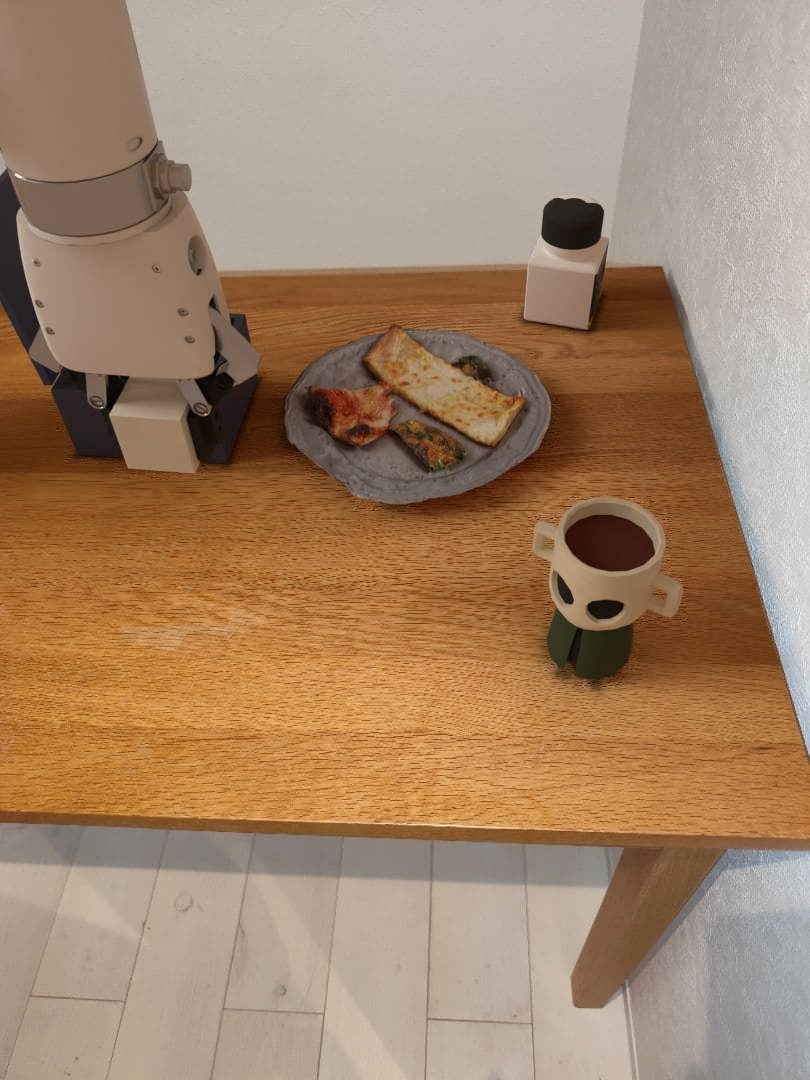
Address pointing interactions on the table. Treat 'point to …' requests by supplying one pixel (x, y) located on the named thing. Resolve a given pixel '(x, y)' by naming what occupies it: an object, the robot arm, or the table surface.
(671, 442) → the table surface
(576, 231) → the medicine bottle
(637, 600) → the character mug
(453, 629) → the table surface
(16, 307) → the lid
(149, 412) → the cube block
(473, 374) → the food plate
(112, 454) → the case
